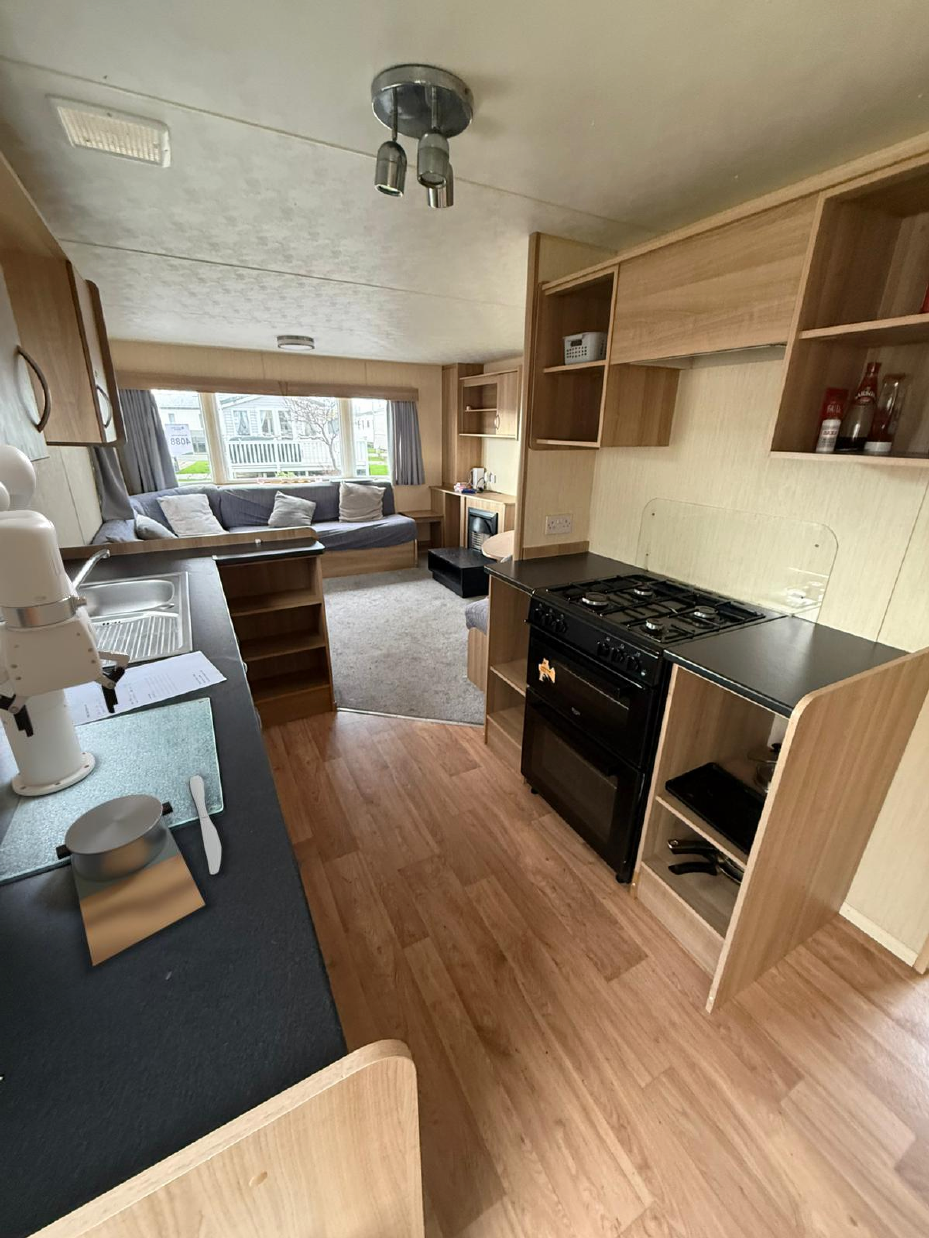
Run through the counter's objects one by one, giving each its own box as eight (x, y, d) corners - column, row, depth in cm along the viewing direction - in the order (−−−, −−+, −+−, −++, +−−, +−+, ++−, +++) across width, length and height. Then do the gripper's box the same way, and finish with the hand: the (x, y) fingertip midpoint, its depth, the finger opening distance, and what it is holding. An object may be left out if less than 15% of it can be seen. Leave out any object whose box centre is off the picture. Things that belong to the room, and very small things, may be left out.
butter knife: (205, 771, 97) (188, 776, 96) (227, 869, 76) (205, 876, 74) (206, 774, 97) (188, 778, 96) (227, 872, 76) (205, 879, 75)
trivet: (79, 902, 71) (79, 900, 71) (180, 854, 79) (180, 852, 79) (93, 967, 62) (93, 966, 62) (205, 906, 70) (205, 904, 70)
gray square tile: (68, 851, 79) (68, 849, 79) (161, 812, 88) (160, 811, 88) (79, 902, 71) (79, 900, 71) (180, 854, 79) (180, 852, 79)
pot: (60, 851, 79) (50, 822, 77) (166, 807, 88) (160, 780, 86) (70, 904, 70) (59, 872, 68) (187, 848, 80) (180, 820, 78)
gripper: (111, 593, 76) (135, 693, 82) (-47, 618, 65) (-7, 730, 71) (120, 606, 71) (145, 711, 77) (-51, 635, 60) (-6, 755, 66)
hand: (72, 720), depth 74 cm, fingers open, 9 cm apart
